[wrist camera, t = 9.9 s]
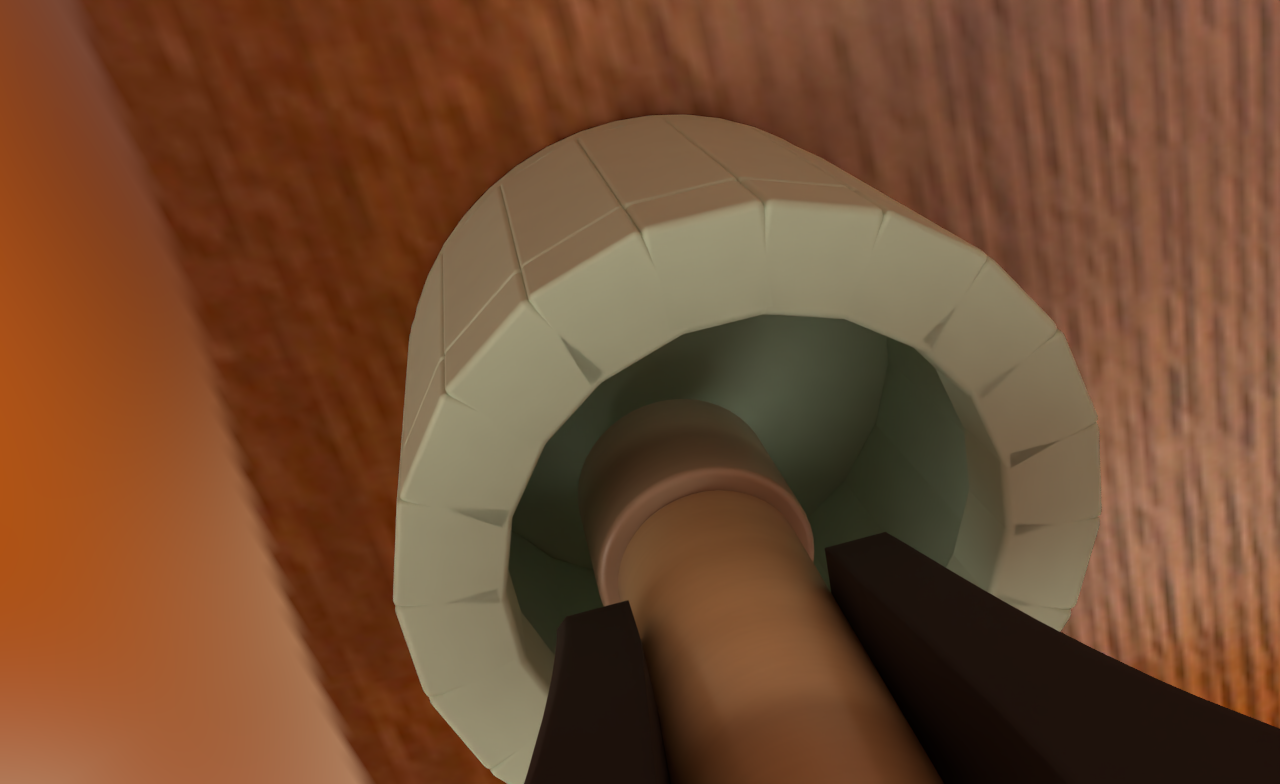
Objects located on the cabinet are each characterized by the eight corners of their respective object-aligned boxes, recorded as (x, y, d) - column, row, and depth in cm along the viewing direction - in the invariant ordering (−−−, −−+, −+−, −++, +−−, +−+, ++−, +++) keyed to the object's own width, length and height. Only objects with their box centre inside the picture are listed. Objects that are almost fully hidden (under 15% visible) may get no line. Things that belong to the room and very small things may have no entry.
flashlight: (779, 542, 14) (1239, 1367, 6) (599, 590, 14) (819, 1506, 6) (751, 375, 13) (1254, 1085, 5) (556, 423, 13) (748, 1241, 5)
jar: (925, 518, 18) (1111, 742, 13) (483, 636, 18) (500, 917, 13) (876, 59, 15) (1092, 120, 10) (341, 183, 15) (289, 314, 10)
